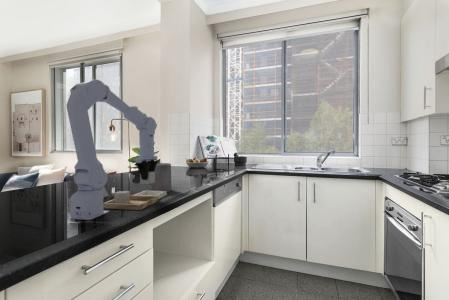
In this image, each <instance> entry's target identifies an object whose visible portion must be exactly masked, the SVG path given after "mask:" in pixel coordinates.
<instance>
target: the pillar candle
mask: <svg viewBox="0 0 449 300" xmlns="http://www.w3.org/2000/svg"><path fill="white" fill-rule="evenodd" d="M150 186H151V191H167V193H169V192H172V164H171V163H170V162H168V163H167V162H158V163H157V165H156V168H155V182H154V183H151V184H150Z"/></svg>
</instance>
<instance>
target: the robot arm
mask: <svg viewBox="0 0 449 300" xmlns="http://www.w3.org/2000/svg"><path fill="white" fill-rule="evenodd" d="M69 92H70V93H69V94H70V95H69V97H68V100H67V102H66V110H67V115H68V119H69V120H68V121H69V125H70V130H71V134H72V139H73V143H74V150H75V153H76V159H77V162H76V163H75V165H74V167H73V168H74V174H73V181H74V183H75V184H76V185H77V191H76V192H73V193H72V195H71V196H70V199H69V215H70V216H69V217H67V219H69V220H83V221H84V220H85V221H86V220H87V221H90V220H93V219H95V218H97V217H100V216H102V215H104V214H105V215H106V214H107V213H109V212H110V210H105V208H104V206H103V203H104V198H103V188H104V187H105V185H106V184H107V182H108V174H107V172H106V171H105V169H104V165H103V163H102V162H101V161H100V160H99V158H98V157H97V152H96V148H95V147H96V146H95V141H94V137H93V136H94V135H93V131H92V127H91V121H90V115H89V112H88V111H89V110H90V109H91V108H92V107H93V106H94V104H96V103H99V102H100V103H106V104H107V105H109V106H111V107H113V109H115V110H117V111H119V112H120V113H122V114H123V115H122V116H123V118H124V119H126V120H127V121H129V122H130V123H132V124H133V125H135V127H136V129H137V130H138V132H139V134H138V136H139V156H138V157H135V160H134V161H135V165H136V167H137V169H138V172H139V175H140V174H141V178H142V180H147V179H148V171H155V168H156V165H157V163H159V162H158V155H155V133H156V129H157V126H158V124H157V122H156V120H155V119H154V118H153V117H151V116H147V114H146V113H144V112H142V111H141V110H140V109H139V108H138V106H136V105H128V104H127V103H126V102H125V101H124V100H122V99H121V98H120V97H119V96H117V95H116V94H115V92H113V91H111V88H110V87H109V86H108V85H107V84H105V83H104V82H103V81H102V80H99V79H91V80H89V81H85V82H84V81H83V82H78V83H76V84H74V85H73V86H72V87H71V88H70V89H69Z"/></svg>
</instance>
